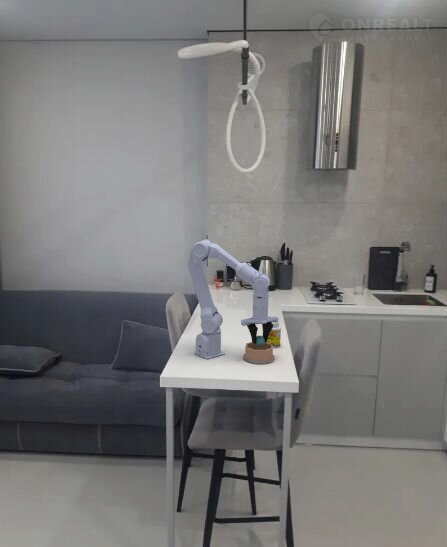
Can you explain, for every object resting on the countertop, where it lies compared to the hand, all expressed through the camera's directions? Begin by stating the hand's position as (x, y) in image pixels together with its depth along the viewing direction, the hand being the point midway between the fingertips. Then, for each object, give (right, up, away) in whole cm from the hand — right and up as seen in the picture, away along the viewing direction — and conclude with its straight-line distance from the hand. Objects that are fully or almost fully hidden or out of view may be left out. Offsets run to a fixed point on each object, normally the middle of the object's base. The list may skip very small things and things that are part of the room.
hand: (259, 342), depth 172 cm
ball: (0, +1, 0) cm, 1 cm away
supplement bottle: (+7, -4, +16) cm, 18 cm away
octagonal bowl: (0, -6, +1) cm, 6 cm away
